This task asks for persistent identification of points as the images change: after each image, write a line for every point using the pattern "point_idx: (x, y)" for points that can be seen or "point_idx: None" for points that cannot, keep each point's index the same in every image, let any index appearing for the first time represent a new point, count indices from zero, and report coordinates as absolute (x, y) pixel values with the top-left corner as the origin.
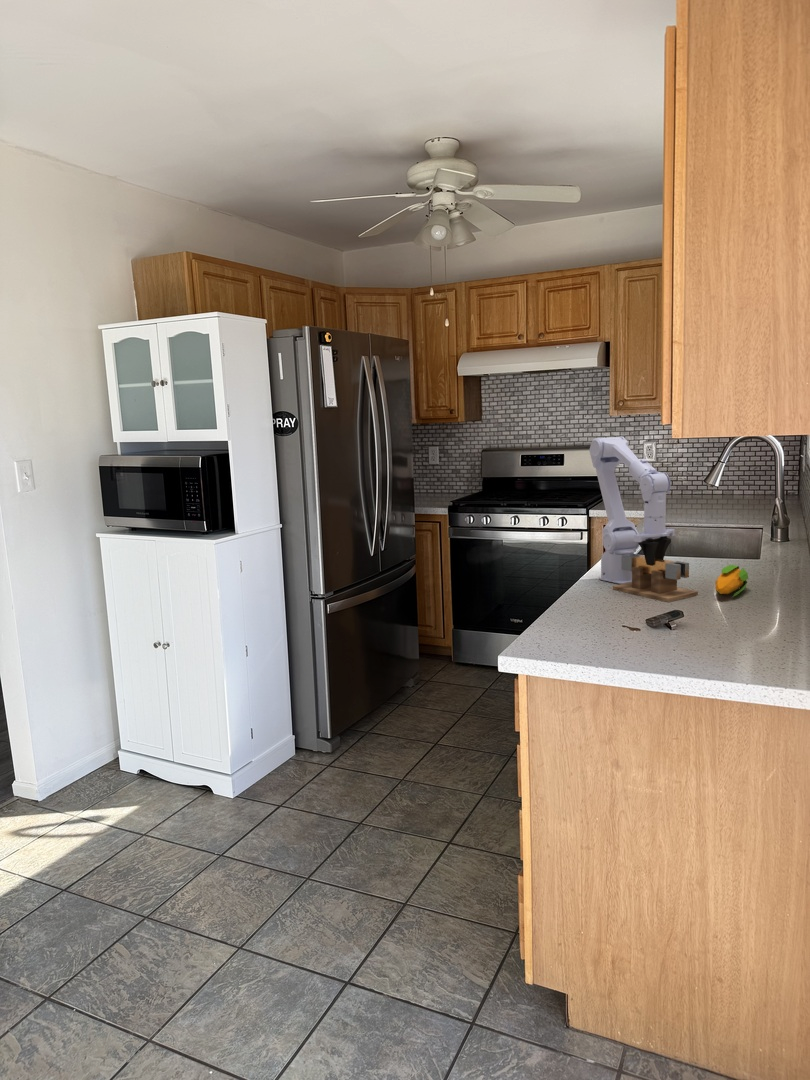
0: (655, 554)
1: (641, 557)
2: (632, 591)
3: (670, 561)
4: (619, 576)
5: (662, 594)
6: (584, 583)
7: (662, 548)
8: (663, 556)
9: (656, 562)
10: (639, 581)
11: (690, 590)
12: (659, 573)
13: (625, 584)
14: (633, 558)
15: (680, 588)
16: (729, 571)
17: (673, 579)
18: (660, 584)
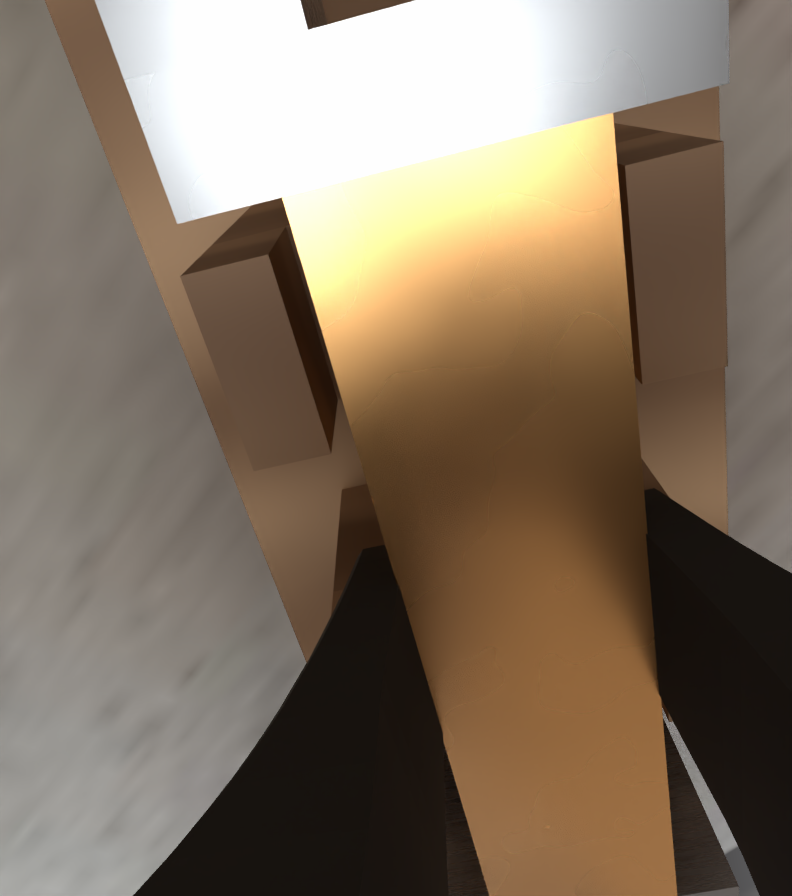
0: (435, 790)
1: (593, 847)
2: (720, 419)
3: (400, 264)
4: None
5: None
6: (733, 844)
7: (392, 821)
8: (354, 626)
9: (631, 468)
10: (654, 483)
11: (98, 76)
12: (713, 156)
13: None
14: (679, 875)
15: (166, 249)
16: None
17: None
18: (622, 127)
